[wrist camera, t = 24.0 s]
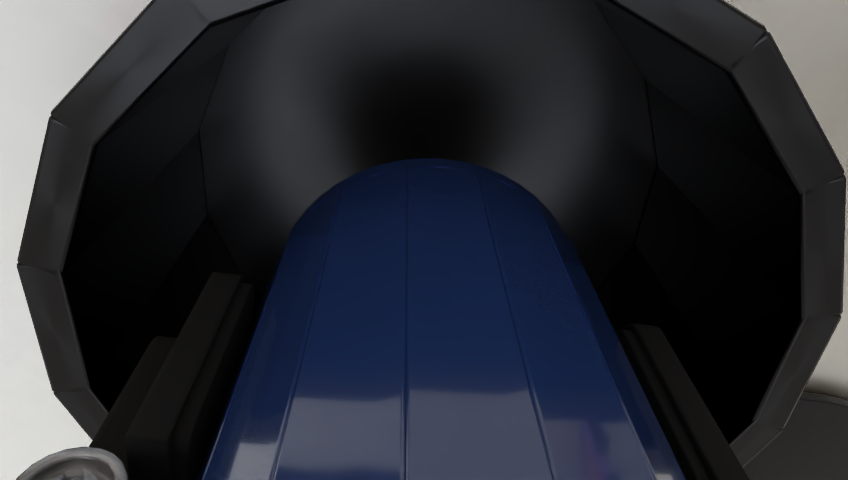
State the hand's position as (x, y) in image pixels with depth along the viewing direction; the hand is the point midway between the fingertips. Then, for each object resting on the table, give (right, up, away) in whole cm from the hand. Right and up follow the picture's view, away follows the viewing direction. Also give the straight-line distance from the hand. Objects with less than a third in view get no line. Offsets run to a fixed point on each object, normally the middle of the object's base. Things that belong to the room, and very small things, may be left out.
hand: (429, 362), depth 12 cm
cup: (0, +1, +2) cm, 2 cm away
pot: (0, +4, +8) cm, 9 cm away
